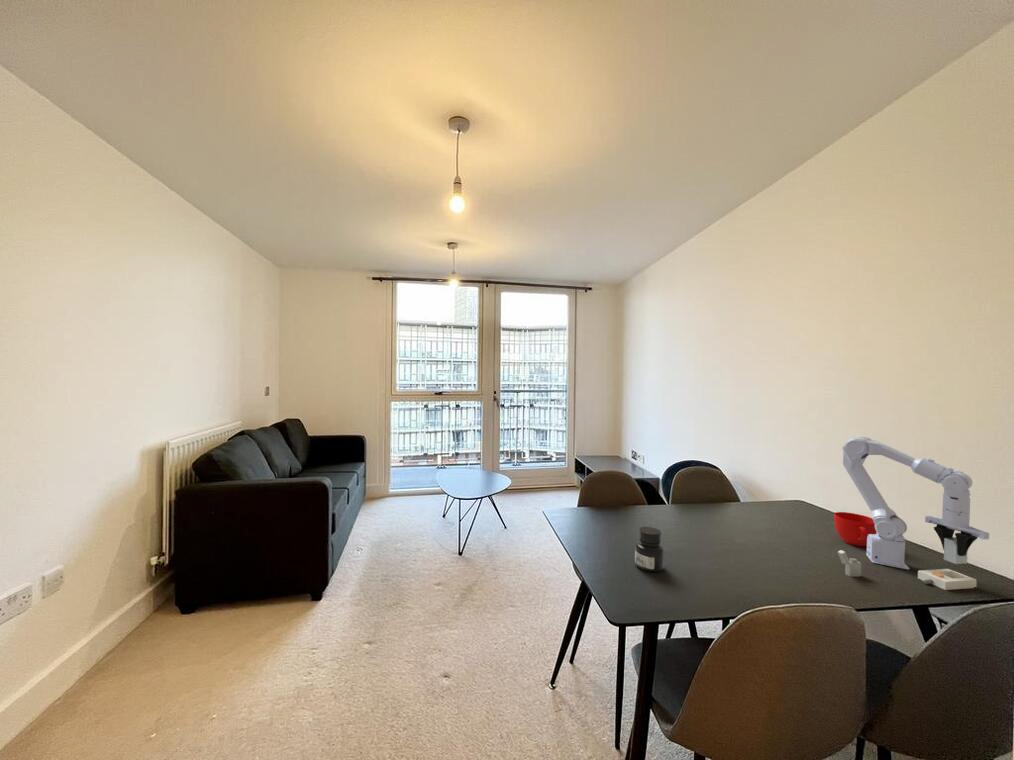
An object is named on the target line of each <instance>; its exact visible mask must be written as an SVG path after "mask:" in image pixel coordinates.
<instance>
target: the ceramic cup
mask: <svg viewBox="0 0 1014 760" xmlns="http://www.w3.org/2000/svg"><path fill="white" fill-rule="evenodd" d="M833 521H834V526H835V530H836V532H837V534H838V536H839V537H840V538H841V539H842V540H843V542H845V543H847V544H848V545H852V546H856V547H867V536H868V534H876V533H877V532H876V530H875V523H874V521H873V519H872V517H869V516H866V515H863V514H858V513H855V512H854V513H853V512H845V511H838V512H834V514H833Z"/></svg>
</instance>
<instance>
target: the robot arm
mask: <svg viewBox="0 0 1014 760" xmlns="http://www.w3.org/2000/svg"><path fill="white" fill-rule="evenodd" d="M841 448H842V451H843V452H842V454H843V455H842V465H843V467H844V469H845V470H846V472H847V474H848V475H849V476H850V478H851V480H852V481H853V484H854V485H855V487H856V488H857V490H858V492H859V493H860V495H861V496H862V498H863V500H864V502H865V503H866V505H867V506H868V508H869V510H870V511H871V518H872V519H873V521H874V523H875V530H876V532H877V533H876V534H868V536H867V545H866V554H865V555H866V557H867V558H868V559H869V560H870V562H871V563H874V564H878V565H882V566H883V565H884V566H888V567H893V568H898V569H903V570H907V571H908V570H910V567H909V566H908V565H907V564H906V563H905V552H906V550H905V548H906V538H905V537H904V534H905V533H906V532H907V530H908V525H907V523H906V522H905V521H904V520H903V519H902V518H900V517H899V516H898V515H897V513H896V512H895V511H894V510H893V508H891V507H889V505H888V503H887V502H886V500H885V499H884V497H883V495H882V493H881V492H880V491H879V489H878V487H877V486H876V484H875V483H874V480H872V478H871V477H870V475H869V473H868V472H867V470H866V468H865V466H864V463H865V461H866V459H867V457H869V456H882V457H885V458H888V459H890V460H892V461H895V462H898V463H900V464H902V465H904V466H906V467H910V468H911V470H912V472H913V473H914V474H916V475H918V476H921V477H923V478H926V479H928V480H929V481H932V482H934V483H936V484H941V486H942V487H943V494H942V516H941V518H939V517H935V516H931V515H925V517H924V521H925V523H928V524H933V525H936V526H934V527H933V530H934V531H935V533H936V534H937V536H938V538H939V540H940V542H941V546H942V549H943V551H944V538H951V537H954V536H955V537H956V539H957V544H958V548H957V552H958V555H959V556H966V553H967V554H968V552H967V551H969V549H970V547H971V545H972V544H973V543H974V542H975V541H976V540H978V538H979V539H981V540H989V539H990V532H987V531H984V530H981V529H978V528H975V527H973V526H970V517H971V514H970V513H971V497H970V496H971V492H970V491H971V490H970V488H971V487H972V486H973V480H972V478H971V477H970V476H969V475H968V474H966V473H964V471H959V470H958V471H957V470H955V469H954V468H953V467H946V466H944V465H941V464H939V463H936V462H935V460H934V459H932V458H928V459H927V458H925V457H921V458H915V457H913V456H911V455H909V454H907V453H905V452H902V451H900V450H898V449H896V448H894V447H892V446H889V445H888V444H884V443H883V442H880V441H878V440H874V439H871V438H869V437H866V436H860V437H856V438H855V437H854V438H850V439H848V440H846V442H845V443H844V445H843V446H842V447H841ZM954 470H955V471H954ZM955 531H956V532H955Z"/></svg>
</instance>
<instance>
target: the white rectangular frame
mask: <svg viewBox="0 0 1014 760" xmlns="http://www.w3.org/2000/svg"><path fill="white" fill-rule="evenodd" d="M917 579H918V580H920V581H922V583H924V584H925V585H929V584H930V585H933V586H935V587H938V588H940V589H941V590H944V591H949V590H961V589H962V590H963V589H975V588H974V587H976V588H977V578H974V577H970V576H968V575H965V574H963V573H960V572H958V571H955V570H952V569H950V568H941V569H940V568H939V569H937V568H936V569H923V570H918V571H917Z"/></svg>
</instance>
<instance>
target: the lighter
mask: <svg viewBox="0 0 1014 760" xmlns="http://www.w3.org/2000/svg"><path fill="white" fill-rule="evenodd" d="M837 554H838V557H839V559H840V561H841V564H843V565H844V566H845V570H844V571H845V572H844V574H845V575H846V576H848V577H850V578H853V577H861V576H862V562H860V561H858V559H857V558H854V557H853V558H852V557H848V555H847V552H846V551H844V550H843V549H840V550H838V551H837Z"/></svg>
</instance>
